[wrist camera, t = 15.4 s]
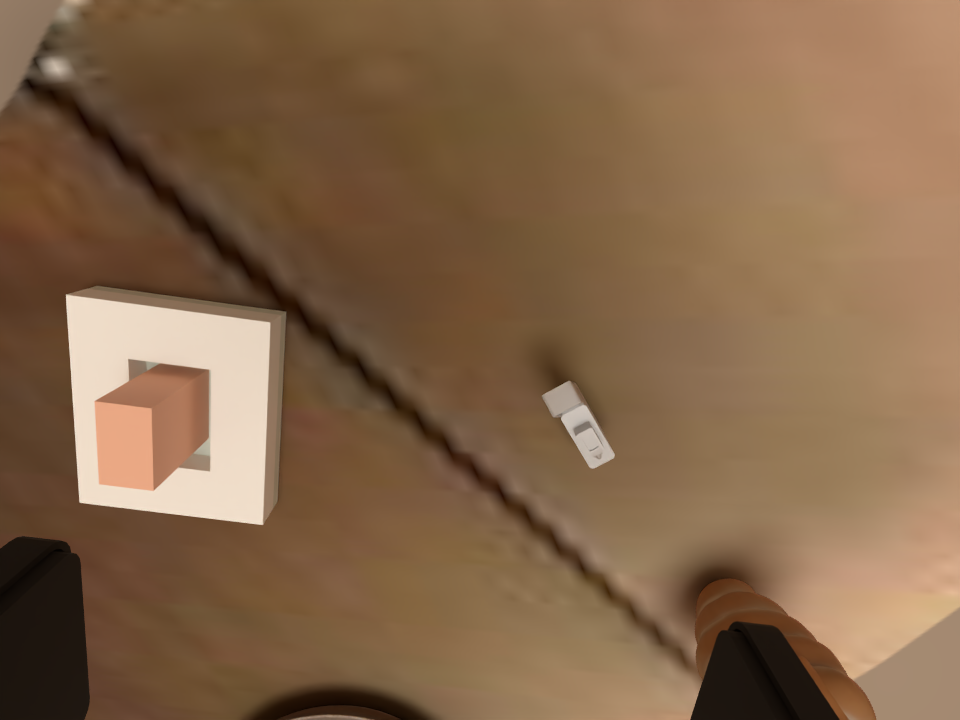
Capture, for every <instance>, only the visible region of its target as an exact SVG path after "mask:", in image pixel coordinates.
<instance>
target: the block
mask: <svg viewBox="0 0 960 720" xmlns="http://www.w3.org/2000/svg"><path fill="white" fill-rule="evenodd" d="M94 402H95V420H96V438H97V457H98V475H99V484H101V485H109V486H117V487H125V488H133V489H141V490H149V491H154V490H155V489H156V488H157V487H158V486H159V485H160V484H161V483H162V482H164V481H165V480H166V479H167V478H168V477H169V476H170V475H171V474H172V473H173V472H174V471H175V470H176V469H177V468H178V467H179V466H180V465H181V464H182V463H183V462H184V461H185V460H187V459H188V458H189V457H190V456H191V455H192V454H193V453H194V452H195V451H196V450H197V449H198V448H199V447H200V446H201V445H202V444H203V443H204V442H205V441H206V440H207V439H208V438H209V369H201V368H193V367H186V366H178V365H171V364H163V363H160V364H158V365H156V366H155V367H153V368H151V369H149V370H148V371H146V372H144V373H142V374H141V375H139V376H137V377H135V378H134V379H132V380H130V381H129V382H127V383H125V384H123V385H122V386H120V387H118V388H116V389H115V390H113V391H111V392H109V393H108V394H106V395H104V396H103V397H101V398H99V399H97V400H96V401H94Z"/></svg>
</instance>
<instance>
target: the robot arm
mask: <svg viewBox="0 0 960 720" xmlns="http://www.w3.org/2000/svg"><path fill="white" fill-rule="evenodd" d="M89 700H90V695H89V681H88V666H87V651H86V637H85V622H84V607H83V593H82V578H81V563H80V558H79V557H78V555H77V554H74V553H71V550H70V546H69V545H68V544H67V543H66V542H64V541H59V540H50V539H42V538H34V537H25V536H22V537H17V538H15V539H13V540H12V541H10V542H9V543H7V544H6V545H5V546H3V547H2V548H1V549H0V720H84V719H85V716H86V714H87V711H88V707H89ZM690 720H840V719H839V718H838V716H837V715H836V713H835V712H834V710H833V709H832V707H831V706H830V704H829V703H828V701H827V700H826V698H825V697H824V695H823V694H822V692H821V691H820V689H819V688H818V686H817V685H816V683H815V682H814V680H813V679H812V677H811V676H810V674H809V673H808V671H807V670H806V668H805V667H804V665H803V664H802V662H801V661H800V659H799V658H798V656H797V655H796V653H795V652H794V650H793V649H792V647H791V646H790V644H789V643H788V641H787V640H786V638H785V637H784V635H783V634H782V632H781V631H780V630H779V629H778V628H777V627H775V626H773V625H765V624H757V623H748V622H740V621H736V622H733V623H732V624H731V625H730V626H729V628H728V630H721V631H720V632H719V633H718V636H717V638H716V641H715V644H714V647H713V650H712V653H711V657H710V660H709V663H708V666H707V669H706V672H705V675H704V679H703V682H702V685H701V688H700V691H699V694H698V697H697V700H696V704H695V707H694V710H693V713H692V716H691V719H690Z"/></svg>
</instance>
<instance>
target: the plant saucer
mask: <svg viewBox="0 0 960 720" xmlns="http://www.w3.org/2000/svg"><path fill="white" fill-rule="evenodd" d="M277 720H401V719H399V718H397V717H395V716H392V715H389V714H387V713H384V712H381V711H378V710H374V709H370V708H365V707H359V706H349V705H331V706H321V707H314V708H309V709H305V710H301V711H298V712H294V713H292V714H289V715H286V716H284V717H281V718H279V719H277Z"/></svg>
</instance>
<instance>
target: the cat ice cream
mask: <svg viewBox="0 0 960 720" xmlns="http://www.w3.org/2000/svg"><path fill="white" fill-rule="evenodd" d="M696 618H697V620H696V623H695V638H696V641H697V644H698V645H697V650H696V663H697V668H698V672H699V675H700V676H701V678H702V680H703V679H704V675H705V672H706V669H707V666H708V663H709V660H710V657H711V653H712V650H713V647H714V644H715V641H716V638H717V636H718V633H719V632H720V631H721V630H728V628H729V626H730V625H731V624H732V623H733V622H736V621H740V622H748V623H757V624H765V625H773V626H775V627H777V628H778V629H779V630H780V631H781V632H782V634H783V635H784V637H785V638H786V640H787V641H788V643H789V644H790V646H791V647H792V649H793V650H794V652H795V653H796V655H797V656H798V658H799V659H800V661H801V662H802V664H803V665H804V667H805V668H806V670H807V671H808V673H809V674H810V676H811V677H812V679H813V680H814V682H815V683H816V685H817V686H818V688H819V689H820V691H821V692H822V694H823V695H824V697H825V698H826V700H827V701H828V703H829V704H830V706H831V707H832V709H833V710H834V712H835V713H836V715H837V716H838V718H839V719H840V720H876V716H875V713H874V710H873V707H872V705H871V703H870V701H869V699H868V698H867V696H866V694H865V693H864V692H863V690H862V689H861V688H860V687H859V686H858V685H857V684H856V683H855V682H854V681H853V680H852V679H851V678H849V677H848V675H847V673H846V671H845V670H844V668H843V667H842V665H841V663H840V662H839V660H838V659H837V658H836V656H835V655H834V654H833V653H832V652H831V651H830V650H829V649H828V648H827V647H826V646H824V645H823V644H821V643H819V642H817V640H816V639H815V637H814V636H813V635H812V634H811V633H810V632H809V631H808V630H807V629H806V628H805V627H804V626H803V625H802V624H801V623H800V622H798V621H797V620H795V619H794V618H792V617H790V616H788V615H787V613H786V612H785V611H784V610H783V609H782V608H781V607H780V606H779V605H778V604H776V603H775V602H773V601H772V600H770V599H768V598H766V597H764V596H762V595H759V594H756V593H755V592H754V590H753V589H752V588H751V587H750V586H749V585H748V584H747V583H745V582H743V581H740V580H736V579H720V580H716V581H714V582H712V583H710V584H708V585H707V586H706V587H705V588H704V589H703V590H702V591H701V593H700V594H699V597H698V600H697V603H696Z"/></svg>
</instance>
